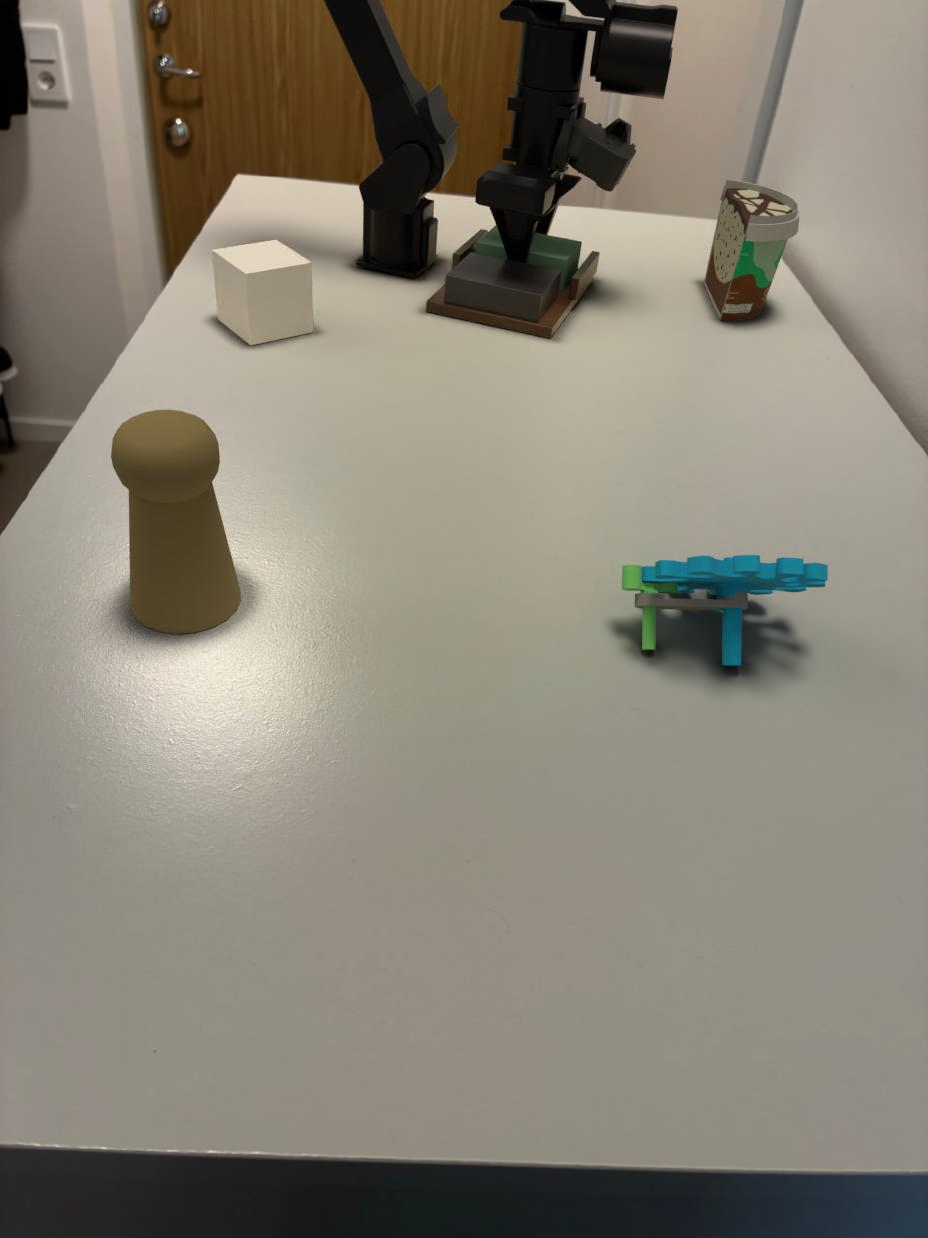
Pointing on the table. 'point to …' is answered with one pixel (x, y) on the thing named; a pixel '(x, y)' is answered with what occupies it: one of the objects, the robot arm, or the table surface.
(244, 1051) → the table surface
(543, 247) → the sage pad
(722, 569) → the gear
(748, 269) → the food container
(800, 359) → the table surface
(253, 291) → the cream cube
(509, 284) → the frame
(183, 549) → the cork
